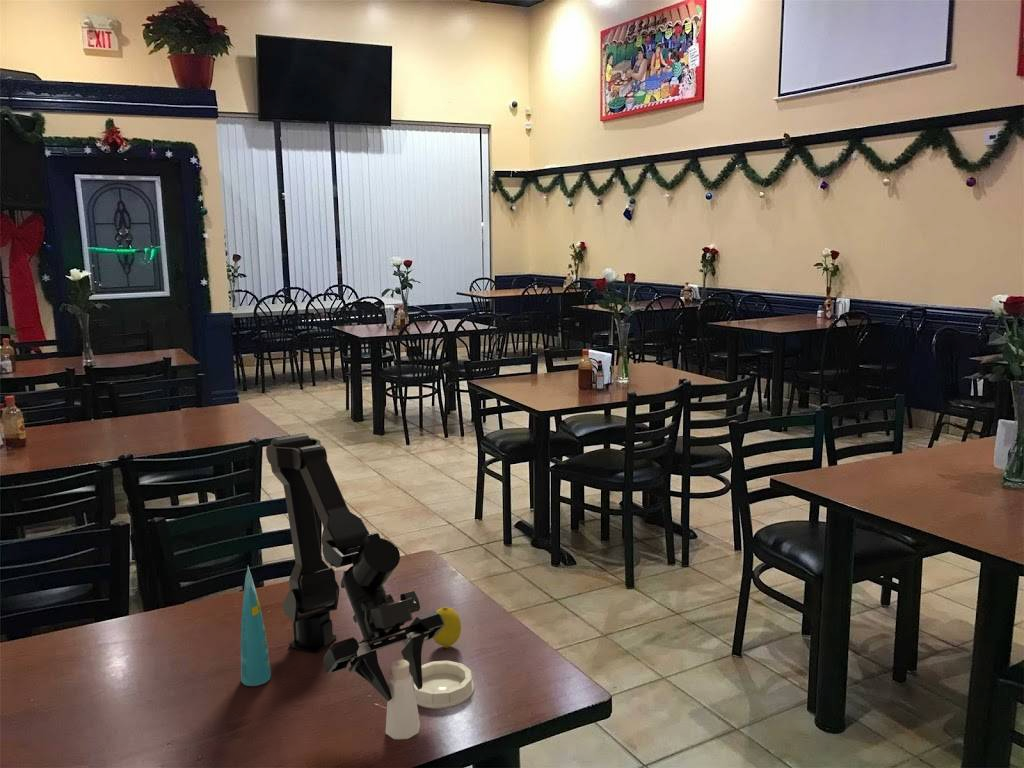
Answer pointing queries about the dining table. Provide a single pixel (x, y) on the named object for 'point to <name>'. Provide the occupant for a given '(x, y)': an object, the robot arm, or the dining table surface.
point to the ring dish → (444, 685)
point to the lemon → (448, 627)
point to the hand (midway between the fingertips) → (405, 694)
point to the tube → (253, 639)
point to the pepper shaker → (402, 703)
